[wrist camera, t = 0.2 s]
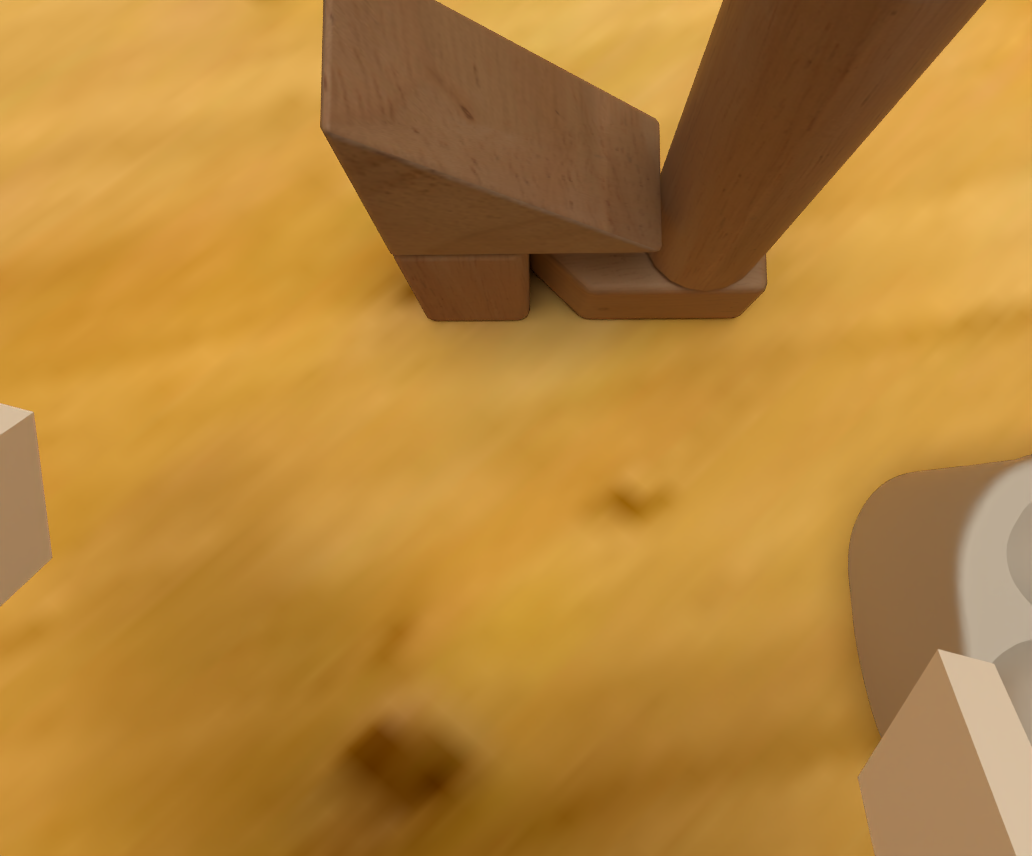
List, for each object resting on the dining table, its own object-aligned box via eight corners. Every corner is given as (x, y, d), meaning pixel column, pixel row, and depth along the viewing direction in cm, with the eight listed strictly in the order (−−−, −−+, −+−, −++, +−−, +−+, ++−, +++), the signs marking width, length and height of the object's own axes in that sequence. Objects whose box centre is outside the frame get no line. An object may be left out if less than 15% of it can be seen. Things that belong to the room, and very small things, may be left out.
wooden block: (426, 221, 29) (244, -260, 11) (736, 217, 29) (1070, -282, 11) (425, 325, 28) (235, 2, 11) (740, 322, 28) (1093, -15, 10)
